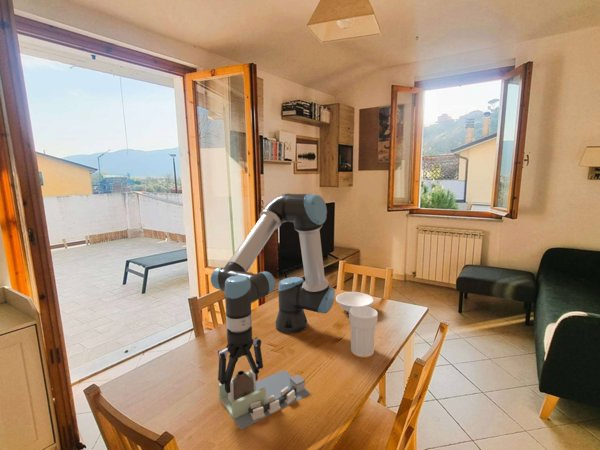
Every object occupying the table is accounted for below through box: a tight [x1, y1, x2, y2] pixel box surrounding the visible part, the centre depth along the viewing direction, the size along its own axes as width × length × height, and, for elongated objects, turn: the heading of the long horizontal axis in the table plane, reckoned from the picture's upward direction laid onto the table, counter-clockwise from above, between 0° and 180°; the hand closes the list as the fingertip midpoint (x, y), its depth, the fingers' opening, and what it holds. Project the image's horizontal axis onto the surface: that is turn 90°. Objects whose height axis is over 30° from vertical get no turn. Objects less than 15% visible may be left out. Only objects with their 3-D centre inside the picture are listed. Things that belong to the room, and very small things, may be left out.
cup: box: [348, 306, 379, 360], centre depth 128 cm, size 11×11×17 cm
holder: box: [218, 371, 266, 421], centre depth 100 cm, size 11×11×5 cm
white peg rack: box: [250, 374, 306, 420], centre depth 100 cm, size 7×20×3 cm, turn 126°
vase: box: [232, 370, 253, 400], centre depth 100 cm, size 7×7×9 cm
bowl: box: [335, 291, 374, 313], centre depth 168 cm, size 20×20×7 cm
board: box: [218, 369, 312, 431], centre depth 103 cm, size 16×25×1 cm, turn 126°
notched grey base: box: [249, 386, 296, 413], centre depth 100 cm, size 4×19×1 cm, turn 126°
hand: (242, 395), depth 101 cm, fingers closed on vase, 7 cm apart
